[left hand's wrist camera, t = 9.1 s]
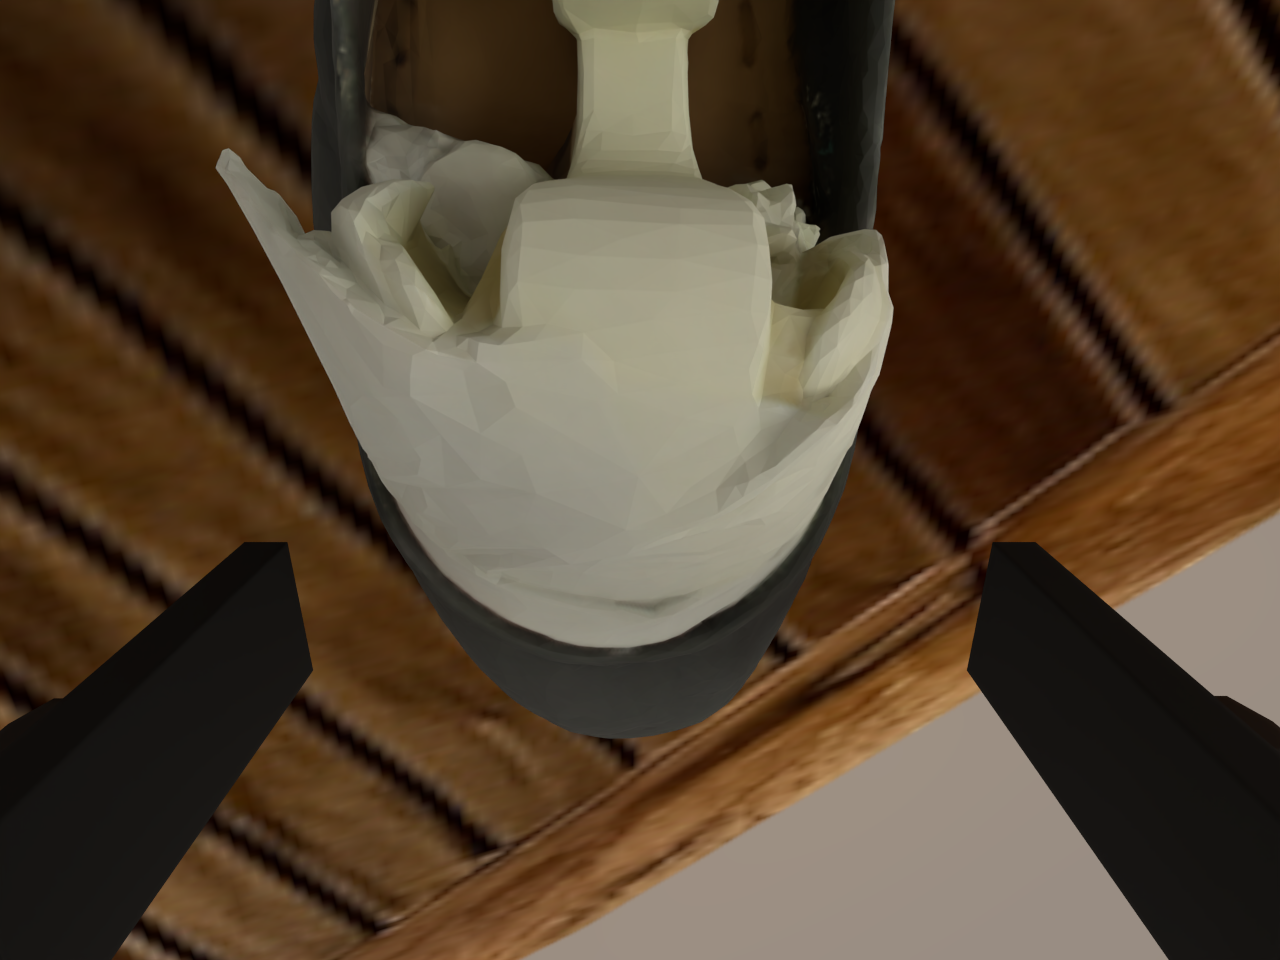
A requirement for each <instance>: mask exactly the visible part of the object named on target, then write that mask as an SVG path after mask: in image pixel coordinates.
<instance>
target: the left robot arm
mask: <svg viewBox="0 0 1280 960" xmlns="http://www.w3.org/2000/svg"><path fill="white" fill-rule="evenodd" d="M312 671H313V668H312V663H311V658H310V653H309V648H308V643H307V638H306V633H305V628H304V623H303V618H302V613H301V608H300V603H299V598H298V593H297V588H296V583H295V578H294V573H293V568H292V563H291V558H290V553H289V548H288V543H287V542H244V543H243V544H242V545H241V546H240V547H238V548H237V549H236V550H235V551H234V552H233V553H231V554H230V555H229V556H228V557H227V558H226V559H224V560H223V561H222V562H221V563H220V564H219V565H217V566H216V567H215V568H214V569H213V570H212V571H211V572H209V573H208V574H207V575H206V576H205V577H204V578H202V579H201V580H200V581H199V582H198V583H197V584H195V585H194V586H193V587H192V588H191V589H190V590H188V591H187V592H186V593H185V594H184V595H183V596H182V597H180V598H179V599H178V600H177V601H176V602H175V603H173V604H172V605H171V606H170V607H169V608H168V609H166V610H165V611H164V612H163V613H162V614H161V615H159V616H158V617H157V618H156V619H155V620H154V621H152V622H151V623H150V624H149V625H148V626H147V627H146V628H144V629H143V630H142V631H141V632H140V633H139V634H137V635H136V636H135V637H134V638H133V639H132V640H130V641H129V642H128V643H127V644H126V645H125V646H123V647H122V648H121V649H120V650H119V651H118V652H117V653H115V654H114V655H113V656H112V657H111V658H110V659H108V660H107V661H106V662H105V663H104V664H103V665H101V666H100V667H99V668H98V669H97V670H96V671H94V672H93V673H92V674H91V675H90V676H89V677H87V678H86V679H85V680H84V681H83V682H82V683H81V684H79V685H78V686H77V687H76V688H75V689H74V690H72V691H71V692H70V693H69V694H68V695H67V696H65V697H64V698H63V699H52V700H51V701H49V702H47V703H45V704H43V705H42V706H40V707H38V708H36V709H34V710H33V711H31V712H29V713H27V714H25V715H24V716H22V717H20V718H18V719H16V720H15V721H13V722H11V723H9V724H8V725H7V726H5V727H4V728H3V729H2V730H1V731H0V960H111V959H112V958H113V956H114V955H115V954H116V952H117V951H118V949H119V948H120V946H121V945H122V944H123V942H124V941H125V939H126V938H127V936H128V935H129V934H130V932H131V931H132V929H133V928H134V926H135V925H136V924H137V922H138V921H139V919H140V918H141V916H142V915H143V913H144V912H145V911H146V909H147V908H148V906H149V905H150V903H151V902H152V901H153V899H154V898H155V896H156V895H157V893H158V892H159V891H160V889H161V888H162V886H163V885H164V883H165V882H166V880H167V879H168V878H169V876H170V875H171V873H172V872H173V870H174V869H175V868H176V866H177V865H178V863H179V862H180V860H181V859H182V858H183V856H184V855H185V853H186V852H187V850H188V849H189V848H190V846H191V845H192V843H193V842H194V840H195V839H196V837H197V836H198V835H199V833H200V832H201V830H202V829H203V827H204V826H205V825H206V823H207V822H208V820H209V819H210V817H211V816H212V815H213V813H214V812H215V810H216V809H217V807H218V806H219V804H220V803H221V802H222V800H223V799H224V797H225V796H226V794H227V793H228V792H229V790H230V789H231V787H232V786H233V784H234V783H235V782H236V780H237V779H238V777H239V776H240V774H241V773H242V772H243V770H244V769H245V767H246V766H247V764H248V763H249V761H250V760H251V759H252V757H253V756H254V754H255V753H256V751H257V750H258V749H259V747H260V746H261V744H262V743H263V741H264V740H265V739H266V737H267V736H268V734H269V733H270V731H271V730H272V728H273V727H274V726H275V724H276V723H277V721H278V720H279V718H280V717H281V716H282V714H283V713H284V711H285V710H286V708H287V707H288V706H289V704H290V703H291V701H292V700H293V698H294V697H295V696H296V694H297V693H298V691H299V690H300V688H301V687H302V685H303V684H304V683H305V681H306V680H307V678H308V677H309V675H310V674H311V673H312ZM967 671H968V673H969V674H970V675H971V677H972V678H973V680H974V681H975V683H976V684H977V685H978V687H979V688H980V690H981V691H982V693H983V694H984V696H985V697H986V698H987V700H988V701H989V703H990V704H991V706H992V707H993V708H994V710H995V711H996V713H997V714H998V716H999V717H1000V718H1001V720H1002V721H1003V723H1004V724H1005V726H1006V727H1007V729H1008V730H1009V731H1010V733H1011V734H1012V736H1013V737H1014V739H1015V740H1016V741H1017V743H1018V744H1019V746H1020V747H1021V749H1022V750H1023V751H1024V753H1025V754H1026V756H1027V757H1028V759H1029V760H1030V761H1031V763H1032V764H1033V766H1034V767H1035V769H1036V770H1037V771H1038V773H1039V774H1040V776H1041V777H1042V779H1043V780H1044V782H1045V783H1046V784H1047V786H1048V787H1049V789H1050V790H1051V791H1052V793H1053V794H1054V796H1055V797H1056V799H1057V800H1058V802H1059V803H1060V805H1061V806H1062V807H1063V809H1064V810H1065V812H1066V813H1067V815H1068V816H1069V817H1070V819H1071V820H1072V822H1073V823H1074V825H1075V826H1076V827H1077V829H1078V830H1079V832H1080V833H1081V835H1082V836H1083V837H1084V839H1085V840H1086V842H1087V843H1088V845H1089V846H1090V847H1091V849H1092V850H1093V852H1094V853H1095V855H1096V856H1097V858H1098V859H1099V860H1100V862H1101V863H1102V865H1103V866H1104V868H1105V869H1106V870H1107V872H1108V873H1109V875H1110V876H1111V878H1112V879H1113V881H1114V882H1115V883H1116V885H1117V886H1118V888H1119V889H1120V891H1121V892H1122V893H1123V895H1124V896H1125V898H1126V899H1127V901H1128V902H1129V903H1130V905H1131V906H1132V908H1133V909H1134V911H1135V912H1136V913H1137V915H1138V916H1139V918H1140V919H1141V921H1142V922H1143V924H1144V925H1145V926H1146V928H1147V929H1148V931H1149V932H1150V934H1151V935H1152V936H1153V938H1154V939H1155V941H1156V942H1157V944H1158V945H1159V946H1160V948H1161V949H1162V951H1163V952H1164V954H1165V955H1166V956H1167V958H1168V959H1169V960H1280V727H1279V726H1277V725H1276V724H1275V723H1274V722H1273V721H1271V720H1269V719H1267V718H1265V717H1264V716H1262V715H1260V714H1258V713H1256V712H1255V711H1253V710H1251V709H1249V708H1247V707H1246V706H1244V705H1242V704H1240V703H1238V702H1237V701H1235V700H1233V699H1231V698H1229V697H1228V696H1213V695H1212V694H1211V693H1210V692H1209V691H1208V690H1206V689H1205V688H1204V687H1203V686H1202V685H1201V684H1199V683H1198V682H1197V681H1196V680H1195V679H1194V678H1192V677H1191V676H1190V675H1189V674H1188V673H1187V672H1185V671H1184V670H1183V669H1182V668H1181V667H1180V666H1179V665H1177V664H1176V663H1175V662H1174V661H1173V660H1172V659H1170V658H1169V657H1168V656H1167V655H1166V654H1165V653H1163V652H1162V651H1161V650H1160V649H1159V648H1158V647H1157V646H1155V645H1154V644H1153V643H1152V642H1151V641H1149V640H1148V639H1147V638H1146V637H1145V636H1144V635H1143V634H1141V633H1140V632H1139V631H1138V630H1137V629H1135V628H1134V627H1133V626H1132V625H1131V624H1130V623H1129V622H1127V621H1126V620H1125V619H1124V618H1123V617H1122V616H1120V615H1119V614H1118V613H1117V612H1116V611H1115V610H1114V609H1112V608H1111V607H1110V606H1109V605H1108V604H1107V603H1105V602H1104V601H1103V600H1102V599H1101V598H1100V597H1098V596H1097V595H1096V594H1095V593H1094V592H1093V591H1092V590H1090V589H1089V588H1088V587H1087V586H1086V585H1085V584H1083V583H1082V582H1081V581H1080V580H1079V579H1078V578H1076V577H1075V576H1074V575H1073V574H1072V573H1071V572H1069V571H1068V570H1067V569H1066V568H1065V567H1064V566H1062V565H1061V564H1060V563H1059V562H1058V561H1057V560H1056V559H1054V558H1053V557H1052V556H1051V555H1050V554H1049V553H1047V552H1046V551H1045V550H1044V549H1043V548H1042V547H1040V546H1039V545H1038V544H1037V543H1036V542H993V543H992V548H991V553H990V558H989V563H988V568H987V573H986V578H985V583H984V588H983V593H982V598H981V603H980V608H979V613H978V618H977V623H976V628H975V633H974V638H973V643H972V648H971V653H970V658H969V663H968V668H967Z"/></svg>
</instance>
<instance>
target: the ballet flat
mask: <svg viewBox="0 0 1280 960" xmlns="http://www.w3.org/2000/svg"><path fill="white" fill-rule="evenodd" d="M894 4H895V0H315V4H314V46H315V53H316V60H317V67H318V76H319V80H318V84H317V89H316V93H315V98H314V104H313V116H312V143H311V167H312V203H313V223H314V230H313V231H310V232H308V233H306V234H305V233H304V231H303V229H302V227H301V225H300V222H299V220H298V218H297V216H296V215H295V214H294V213H293V211H292V210H291V209H290V207H289V206H288V205H287V204H286V202H285V201H284V200H283V199H282V197H281V196H280V195H279V194H278V193H277V192H275V191H274V190H271V189H268V188H266V187H265V186H264V185H263V184H262V183H261V182H260V181H259V180H258V179H257V178H256V177H255V176H254V175H253V174H252V173H251V172H250V171H249V170H248V169H247V168H246V166H245V165H244V163H243V162H242V160H241V158H240V157H239V156H238V155H236V154H235V153H234V152H233V151H231V150H230V149H229V148H228V149H225V150H222V153H221V155H220V158H219V160H218V162H217V165H216V169H217V171H218V172H219V173H220V175H221V176H222V178H223V179H224V180H225V182H226V183H227V185H228V187H229V188H230V190H231V192H232V193H233V195H234V197H235V199H236V200H237V202H238V204H239V206H240V207H241V209H242V211H243V213H244V214H245V216H246V218H247V220H248V221H249V223H250V225H251V227H252V228H253V230H254V232H255V234H256V236H257V237H258V239H259V241H260V243H261V245H262V247H263V249H264V251H265V252H266V254H267V256H268V258H269V260H270V262H271V264H272V266H273V267H274V269H275V271H276V273H277V275H278V277H279V279H280V281H281V282H282V284H283V286H284V288H285V290H286V292H287V294H288V296H289V298H290V300H291V302H292V304H293V306H294V308H295V310H296V312H297V314H298V316H299V318H300V320H301V322H302V324H303V326H304V328H305V330H306V332H307V335H308V337H309V339H310V341H311V343H312V345H313V347H314V349H315V351H316V353H317V355H318V357H319V359H320V361H321V363H322V365H323V367H324V369H325V371H326V373H327V375H328V377H329V379H330V381H331V383H332V385H333V387H334V389H335V391H336V393H337V396H338V398H339V400H340V402H341V405H342V407H343V409H344V411H345V414H346V416H347V418H348V420H349V422H350V424H351V426H352V428H353V430H354V432H355V434H356V436H357V440H358V445H359V450H360V455H361V459H362V463H363V467H364V471H365V475H366V479H367V482H368V486H369V489H370V492H371V494H372V497H373V500H374V502H375V505H376V508H377V510H378V513H379V515H380V518H381V520H382V522H383V524H384V526H385V528H386V530H387V531H388V533H389V535H390V537H391V539H392V540H393V542H394V543H395V545H396V547H397V548H398V550H399V551H400V553H401V554H402V556H403V558H404V559H405V561H406V562H407V564H408V565H409V567H410V568H411V569H412V570H413V572H414V574H415V576H416V578H417V580H418V581H419V583H420V585H421V587H422V588H423V590H424V591H425V593H426V595H427V596H428V598H429V600H430V601H431V603H432V604H433V606H434V608H435V609H436V611H437V612H438V614H439V616H440V617H441V619H442V620H443V622H444V623H445V624H446V626H447V627H448V628H449V630H450V631H451V632H452V634H453V635H454V636H455V638H456V639H457V640H458V642H459V643H460V644H461V646H462V647H463V649H464V650H465V651H466V653H467V654H468V655H469V656H470V657H471V659H472V660H473V661H474V662H475V663H476V664H477V666H478V667H479V668H480V669H481V670H482V671H483V672H484V673H485V674H486V675H487V676H488V677H489V678H490V679H491V680H493V681H494V682H495V683H496V684H497V685H498V686H499V687H500V688H501V689H502V690H503V691H504V692H505V693H506V694H507V695H508V696H510V697H511V698H512V699H513V700H515V701H516V702H517V703H519V704H520V705H522V706H523V707H525V708H526V709H528V710H530V711H531V712H533V713H534V714H536V715H538V716H540V717H543V718H545V719H547V720H548V721H550V722H551V723H553V724H555V725H557V726H560V727H562V728H564V729H566V730H568V731H571V732H574V733H579V734H585V735H590V736H596V737H603V738H636V737H645V736H653V735H658V734H662V733H667V732H671V731H675V730H679V729H682V728H685V727H688V726H691V725H694V724H697V723H699V722H702V721H703V720H705V719H706V718H708V717H709V716H711V715H712V714H714V713H715V712H717V711H718V710H719V709H721V708H722V707H723V706H725V705H726V704H727V703H728V702H729V701H730V700H731V699H732V698H733V697H734V696H735V695H736V693H737V692H738V691H739V690H740V689H741V688H742V686H743V685H744V683H745V682H746V680H747V679H748V678H749V676H750V675H751V674H752V672H753V671H754V670H755V668H756V666H757V664H758V662H759V661H760V659H761V658H762V656H763V655H764V653H765V651H766V650H767V648H768V646H769V644H770V643H771V641H772V639H773V638H774V636H775V634H776V633H777V631H778V629H779V628H780V626H781V624H782V622H783V620H784V618H785V616H786V614H787V612H788V610H789V609H790V607H791V605H792V603H793V600H794V598H795V597H796V595H797V593H798V590H799V588H800V587H801V585H802V583H803V581H804V579H805V577H806V574H807V572H808V569H809V566H810V564H811V560H812V557H813V556H814V554H815V552H816V551H817V549H818V547H819V546H820V544H821V542H822V540H823V538H824V535H825V533H826V531H827V529H828V527H829V524H830V522H831V520H832V518H833V515H834V513H835V510H836V508H837V506H838V503H839V501H840V498H841V496H842V493H843V491H844V488H845V485H846V481H847V477H848V473H849V469H850V465H851V461H852V457H853V453H854V450H855V444H856V437H857V431H858V427H859V424H860V421H861V419H862V416H863V413H864V410H865V408H866V405H867V402H868V398H869V395H870V392H871V390H872V388H873V386H874V384H875V382H876V380H877V378H878V376H879V374H880V370H881V366H882V362H883V358H884V353H885V349H886V345H887V341H888V337H889V333H890V329H891V324H892V317H893V305H892V302H891V299H890V296H889V293H888V260H887V255H886V250H885V245H884V241H883V237H882V235H881V234H880V233H879V232H877V231H876V230H873V224H874V219H875V213H876V198H877V180H878V171H879V164H880V147H881V143H882V139H883V125H884V111H885V100H886V88H887V77H888V65H889V55H890V44H891V33H892V23H893V13H894Z"/></svg>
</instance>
